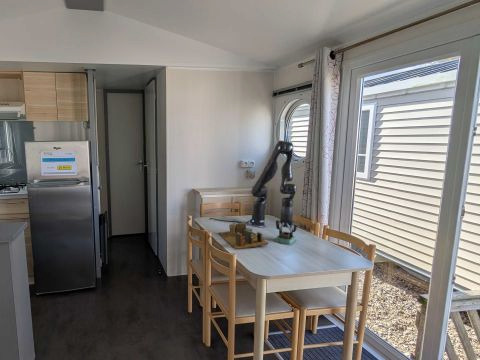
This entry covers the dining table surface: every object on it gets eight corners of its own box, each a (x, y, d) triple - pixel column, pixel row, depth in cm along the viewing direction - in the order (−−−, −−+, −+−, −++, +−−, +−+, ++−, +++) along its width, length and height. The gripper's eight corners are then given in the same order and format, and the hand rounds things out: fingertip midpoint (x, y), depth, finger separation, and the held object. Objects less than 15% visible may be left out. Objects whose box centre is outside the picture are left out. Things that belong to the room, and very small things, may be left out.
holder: (289, 244, 198) (289, 240, 198) (275, 241, 204) (275, 237, 204) (295, 240, 207) (295, 236, 206) (281, 237, 213) (281, 233, 212)
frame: (288, 239, 200) (288, 235, 200) (279, 238, 204) (279, 234, 204) (292, 236, 206) (292, 232, 206) (283, 235, 210) (283, 231, 210)
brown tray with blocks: (271, 248, 192) (269, 226, 190) (236, 254, 189) (234, 232, 187) (248, 231, 226) (246, 212, 224) (218, 236, 224) (216, 217, 221)
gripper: (299, 213, 201) (298, 237, 203) (278, 210, 210) (277, 233, 213) (296, 215, 195) (295, 240, 198) (274, 212, 205) (273, 235, 207)
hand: (285, 236), depth 205 cm, fingers closed on frame, 6 cm apart
